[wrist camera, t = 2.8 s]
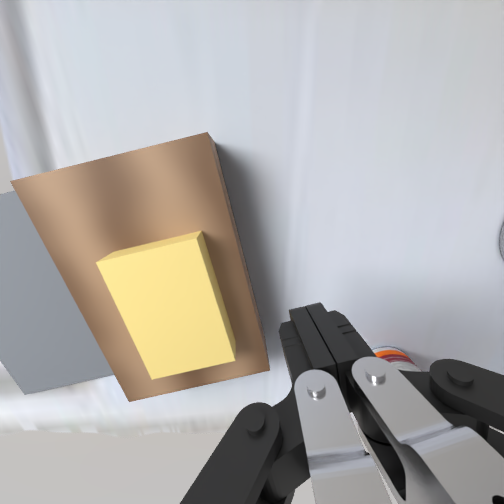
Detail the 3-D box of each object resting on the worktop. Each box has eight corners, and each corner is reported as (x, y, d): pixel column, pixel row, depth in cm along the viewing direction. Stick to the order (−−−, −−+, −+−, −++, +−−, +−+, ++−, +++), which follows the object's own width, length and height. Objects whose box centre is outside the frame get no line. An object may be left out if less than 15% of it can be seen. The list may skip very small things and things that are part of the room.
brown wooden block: (214, 141, 17) (207, 132, 13) (264, 338, 23) (269, 370, 19) (59, 180, 18) (10, 181, 14) (147, 364, 23) (129, 402, 19)
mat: (53, 181, 18) (50, 181, 17) (142, 366, 23) (141, 368, 23) (-97, 219, 18) (-102, 219, 18) (27, 392, 23) (24, 394, 23)
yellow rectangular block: (201, 230, 15) (196, 238, 13) (235, 341, 18) (235, 360, 16) (113, 251, 15) (95, 262, 13) (160, 358, 18) (151, 379, 16)
